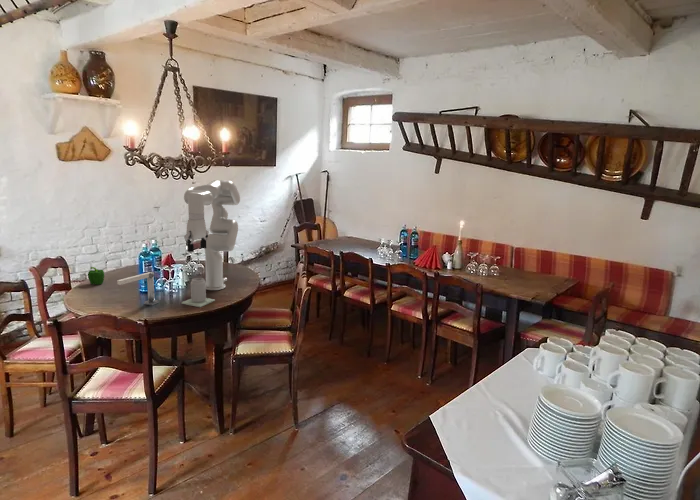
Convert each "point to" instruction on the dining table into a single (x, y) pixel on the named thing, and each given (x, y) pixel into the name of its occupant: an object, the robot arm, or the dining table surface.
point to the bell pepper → (96, 276)
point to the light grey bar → (135, 278)
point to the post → (151, 292)
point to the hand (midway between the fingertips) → (197, 249)
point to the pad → (189, 302)
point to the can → (198, 290)
